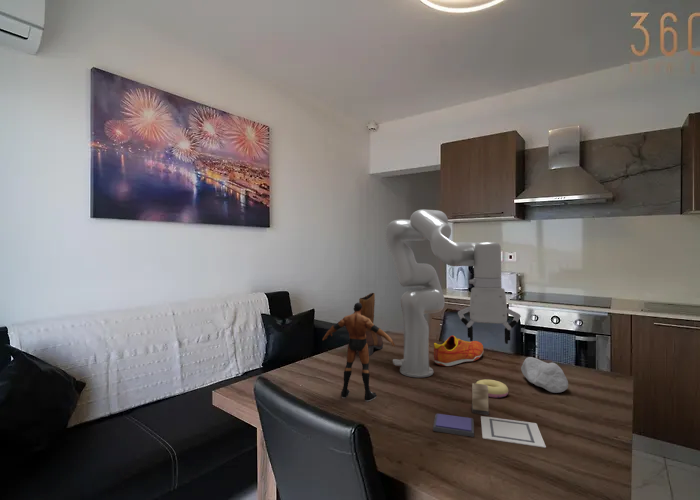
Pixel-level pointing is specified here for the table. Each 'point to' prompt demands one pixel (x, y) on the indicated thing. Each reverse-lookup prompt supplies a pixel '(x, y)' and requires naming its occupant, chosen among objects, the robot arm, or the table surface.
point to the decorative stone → (544, 375)
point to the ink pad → (454, 425)
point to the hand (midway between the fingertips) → (488, 341)
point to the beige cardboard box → (480, 399)
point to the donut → (494, 388)
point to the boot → (368, 311)
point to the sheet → (511, 431)
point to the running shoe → (457, 351)
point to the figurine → (357, 346)
